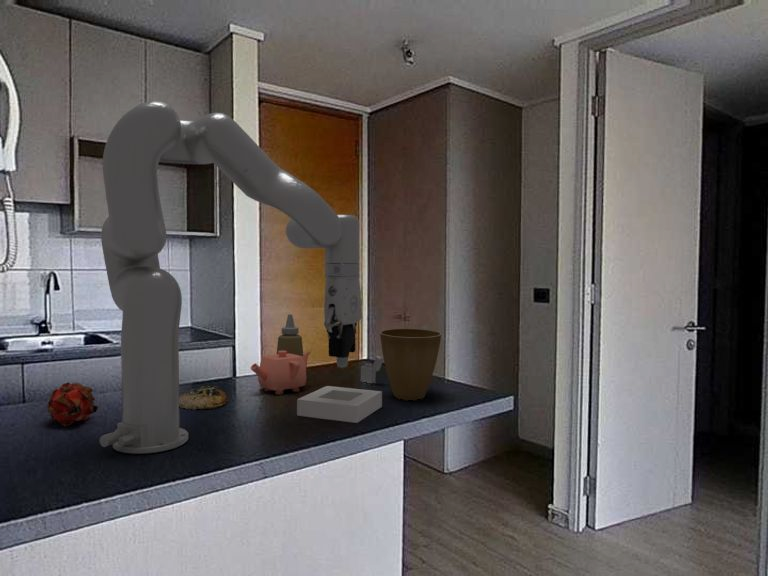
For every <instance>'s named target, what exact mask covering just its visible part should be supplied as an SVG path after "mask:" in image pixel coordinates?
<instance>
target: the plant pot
mask: <svg viewBox="0 0 768 576" xmlns="http://www.w3.org/2000/svg"><path fill="white" fill-rule="evenodd" d="M379 335H380V344H381V351H382V357H383V358H384V360H383V363H384V365H385V366H384V367H385V370H386V373H387V375H386V376H387V379H388V382H389V384H390V388H391V391H392V394H393V396H395V397H396V399H397V398H398V399H397V400H400V399H403V400H402V401H408V400H413V401H418V400H417V399H421V400H423V399H424V398H425V396H426V395H427V392H428V390H429V387H430V384H431V381H432V378H433V375H434V371H435V367H436V364H437V359H438V355H439V352H440V351H439V350H440V344H441V340H442V332H440V331H436V330H431V329H422V328H412V327H411V328H388V329H384V330H381V331H380V332H379ZM395 397H394V398H395ZM422 398H423V399H422Z"/></svg>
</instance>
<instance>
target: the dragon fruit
mask: <svg viewBox="0 0 768 576" xmlns="http://www.w3.org/2000/svg"><path fill="white" fill-rule="evenodd" d="M92 392H93V388H92V387H90V386H86V385H85V386H84V385H83V384H82V383H80V382H72V383H70V382H64V383H61V386H60V387H59V388H55V389H54V390H53V391H52V392H51V393H50V394H49V396H48V398H49V401H48V402H47V406H46V408H47V412H49V413H50V418H51V420H52V421H57V422H58V423H59V424H60V425H61V426H64V427H70V426H72V425H73V424H74V423H75V422H79V421H80V422H82V421H81V420H84V421H86V420H87V419H88V418H89V417H90V416H91V414H94V413H97V411H98V410H99V405H98V404H97V405H95V402H94V401H95V400H96V398H95V396H94V395H93V394H92ZM72 423H73V424H72ZM71 424H72V425H71Z"/></svg>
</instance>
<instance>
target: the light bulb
mask: <svg viewBox="0 0 768 576" xmlns="http://www.w3.org/2000/svg"><path fill="white" fill-rule="evenodd" d="M336 329H337V331H338V327H336ZM341 338H343V356H342V357H336V366H337V368H340V370H345V369H346V367H348V366H349V356H350V353H351V352H350V349H351V347H352V345H353V344H354V341H355V342H356V334H355V333H354V331H353V329H352V328H351V327H350V326H349V325H343V329H342V336H341Z"/></svg>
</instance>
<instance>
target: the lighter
mask: <svg viewBox="0 0 768 576" xmlns="http://www.w3.org/2000/svg"><path fill="white" fill-rule="evenodd" d="M383 363H384V358H383V355H381V354H380V355H376V357H375V359H374V362H373V364H372V363H364V366H363V365H362V366H360V382H361V381H362V382H367V383H375V384H376V375H377V374H376V373H377V372H379V371H380V370H381V367H382V365H383Z"/></svg>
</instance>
